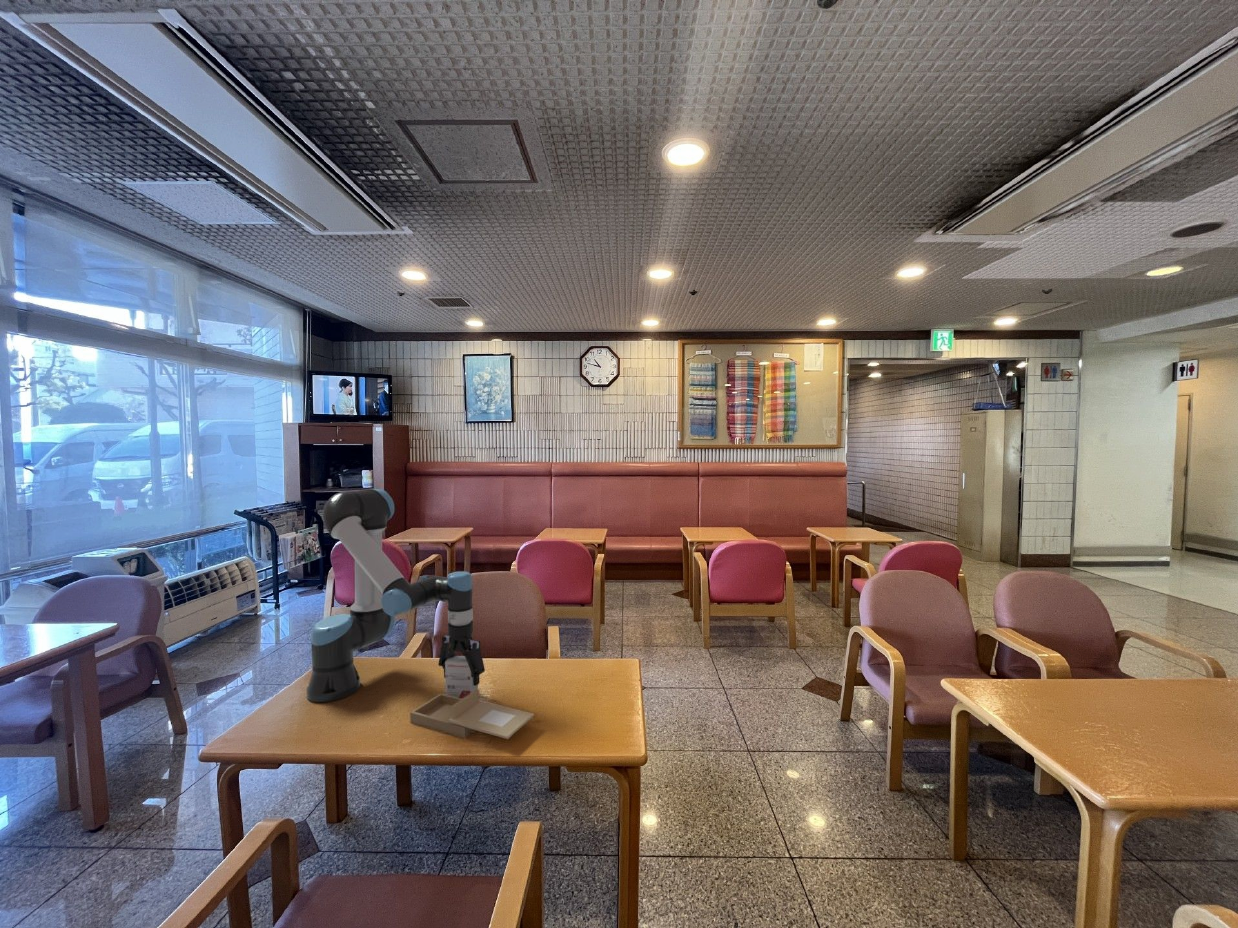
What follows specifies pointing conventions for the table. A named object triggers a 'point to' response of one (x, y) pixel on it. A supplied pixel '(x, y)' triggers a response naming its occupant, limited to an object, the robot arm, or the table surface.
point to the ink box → (457, 677)
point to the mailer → (439, 716)
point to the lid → (488, 716)
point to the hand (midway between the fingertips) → (461, 691)
